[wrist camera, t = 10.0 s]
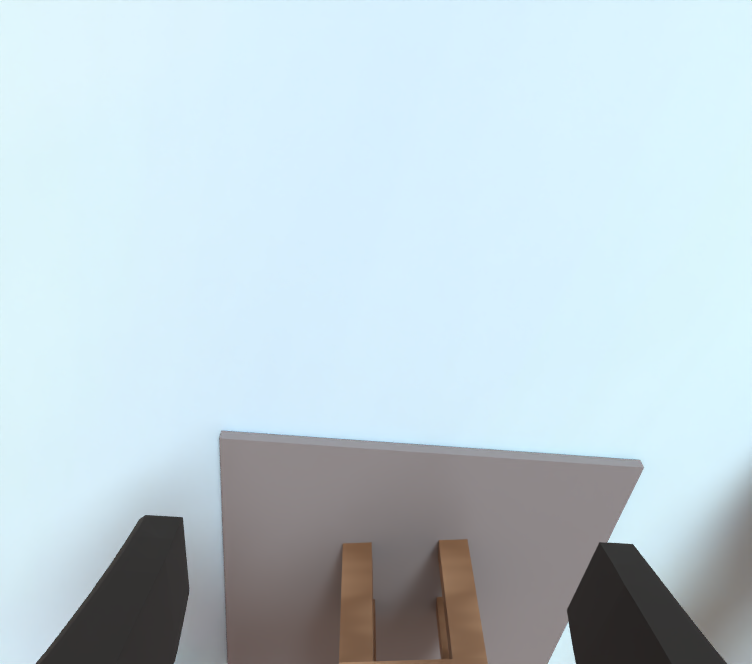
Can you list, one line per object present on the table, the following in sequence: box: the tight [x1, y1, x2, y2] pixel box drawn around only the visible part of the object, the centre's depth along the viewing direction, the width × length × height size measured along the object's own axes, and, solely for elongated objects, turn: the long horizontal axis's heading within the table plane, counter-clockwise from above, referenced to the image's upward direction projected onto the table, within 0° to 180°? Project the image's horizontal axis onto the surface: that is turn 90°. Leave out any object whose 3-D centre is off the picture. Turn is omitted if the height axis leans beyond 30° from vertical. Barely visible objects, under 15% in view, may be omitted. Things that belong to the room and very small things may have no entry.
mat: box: [219, 431, 644, 664], centre depth 28 cm, size 16×16×1 cm
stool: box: [339, 539, 488, 664], centre depth 25 cm, size 5×5×7 cm
